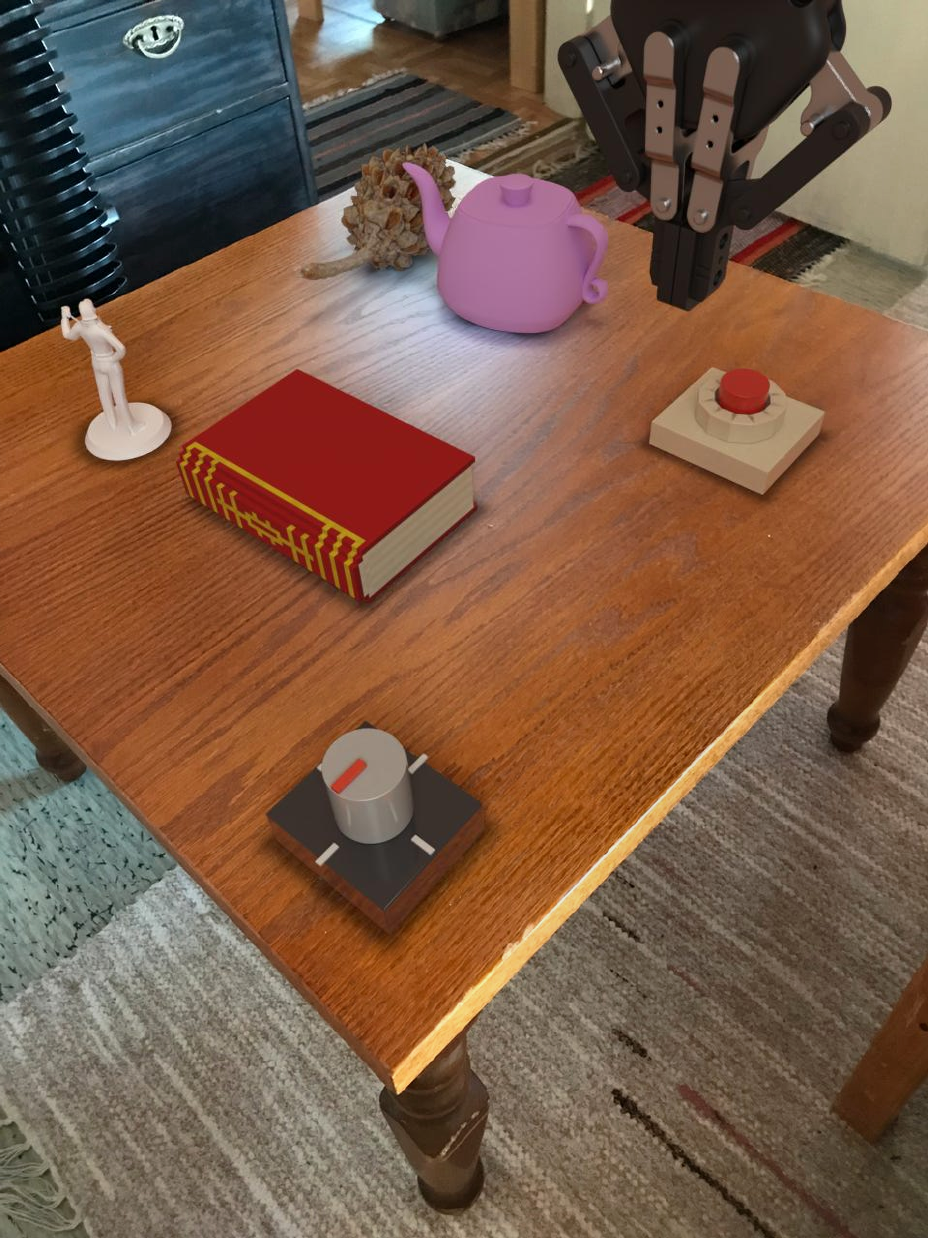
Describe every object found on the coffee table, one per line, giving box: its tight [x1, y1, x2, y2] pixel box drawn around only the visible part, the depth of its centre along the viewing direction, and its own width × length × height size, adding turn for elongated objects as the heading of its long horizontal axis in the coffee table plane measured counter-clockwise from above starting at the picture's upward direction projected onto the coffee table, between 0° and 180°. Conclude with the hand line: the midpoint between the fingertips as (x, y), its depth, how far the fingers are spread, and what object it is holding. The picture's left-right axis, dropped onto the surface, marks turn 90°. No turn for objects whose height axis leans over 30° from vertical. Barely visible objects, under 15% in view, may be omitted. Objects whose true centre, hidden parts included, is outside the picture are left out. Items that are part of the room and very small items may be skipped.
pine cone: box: [292, 141, 457, 281], centre depth 93 cm, size 22×10×10 cm, turn 152°
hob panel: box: [265, 720, 486, 935], centre depth 55 cm, size 9×9×3 cm
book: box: [175, 368, 478, 603], centre depth 73 cm, size 18×13×5 cm
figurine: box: [60, 298, 172, 461], centre depth 77 cm, size 7×7×12 cm
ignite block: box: [648, 366, 826, 496], centre depth 76 cm, size 10×9×4 cm
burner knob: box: [321, 728, 414, 844], centre depth 52 cm, size 4×4×5 cm
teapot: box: [402, 163, 610, 334], centre depth 88 cm, size 20×13×12 cm, turn 63°
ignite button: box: [718, 368, 770, 415], centre depth 74 cm, size 4×4×2 cm
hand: (684, 298), depth 42 cm, fingers closed
